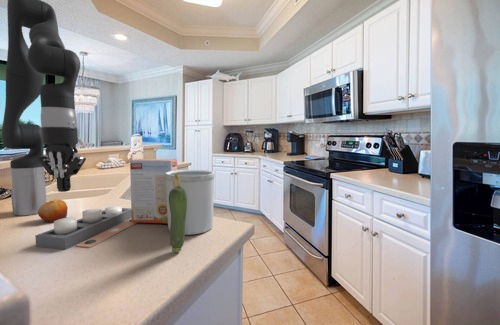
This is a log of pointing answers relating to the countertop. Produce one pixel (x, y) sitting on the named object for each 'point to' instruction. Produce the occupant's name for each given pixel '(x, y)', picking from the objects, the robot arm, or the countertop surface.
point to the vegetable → (177, 214)
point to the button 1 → (65, 226)
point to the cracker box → (150, 189)
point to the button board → (81, 231)
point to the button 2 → (113, 210)
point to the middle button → (92, 215)
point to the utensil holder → (195, 199)
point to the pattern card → (106, 234)
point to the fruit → (53, 210)
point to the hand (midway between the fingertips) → (64, 191)
